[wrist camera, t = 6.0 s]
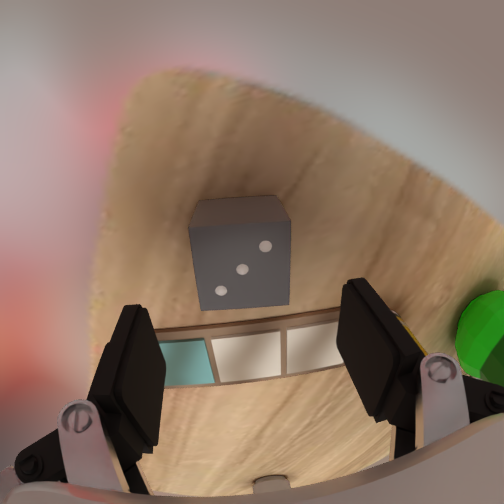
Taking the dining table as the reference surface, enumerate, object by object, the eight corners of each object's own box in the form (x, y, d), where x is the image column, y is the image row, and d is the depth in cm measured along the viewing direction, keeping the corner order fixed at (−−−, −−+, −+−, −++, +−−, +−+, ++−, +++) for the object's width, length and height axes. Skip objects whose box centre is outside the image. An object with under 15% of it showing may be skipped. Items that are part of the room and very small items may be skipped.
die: (276, 195, 17) (291, 222, 13) (276, 263, 19) (289, 306, 15) (199, 200, 17) (187, 228, 12) (206, 268, 19) (200, 312, 14)
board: (355, 304, 21) (359, 309, 21) (345, 362, 24) (347, 367, 23) (130, 331, 20) (128, 337, 19) (154, 385, 23) (153, 391, 22)
